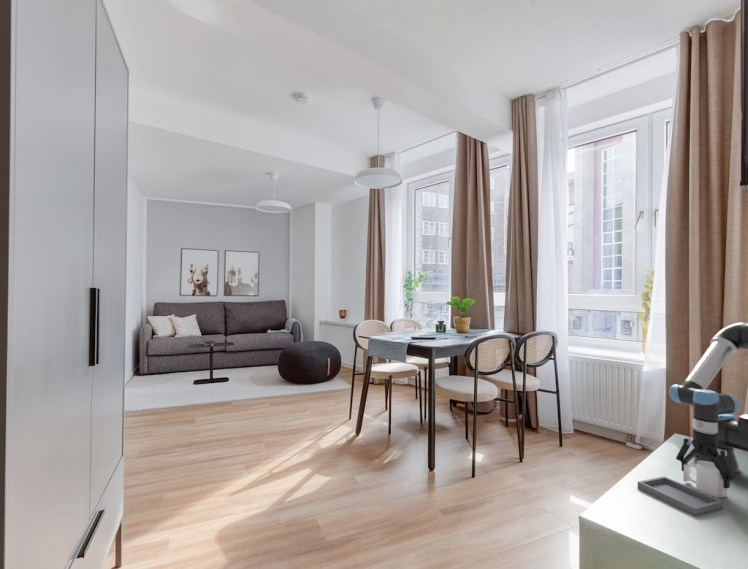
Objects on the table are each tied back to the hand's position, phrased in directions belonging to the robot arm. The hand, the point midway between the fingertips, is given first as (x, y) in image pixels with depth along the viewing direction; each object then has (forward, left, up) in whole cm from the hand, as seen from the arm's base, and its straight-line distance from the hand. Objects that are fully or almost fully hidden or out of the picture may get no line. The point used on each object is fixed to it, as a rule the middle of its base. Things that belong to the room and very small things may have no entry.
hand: (704, 488), depth 152 cm
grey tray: (+16, +1, -1) cm, 16 cm away
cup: (0, 0, -1) cm, 1 cm away
